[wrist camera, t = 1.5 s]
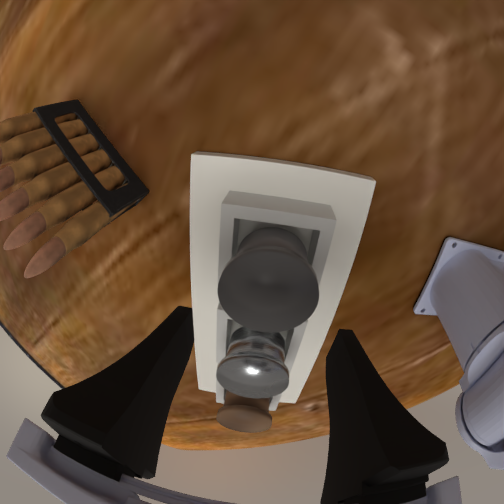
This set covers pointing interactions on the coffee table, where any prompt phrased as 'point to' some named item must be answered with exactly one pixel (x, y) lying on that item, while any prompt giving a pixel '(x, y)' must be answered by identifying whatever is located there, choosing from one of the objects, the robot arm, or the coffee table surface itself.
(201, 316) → the mount board
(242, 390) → the knob steel
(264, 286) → the knob graphite
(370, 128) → the coffee table surface
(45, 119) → the ammunition clip
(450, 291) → the robot arm
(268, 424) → the knob walnut
